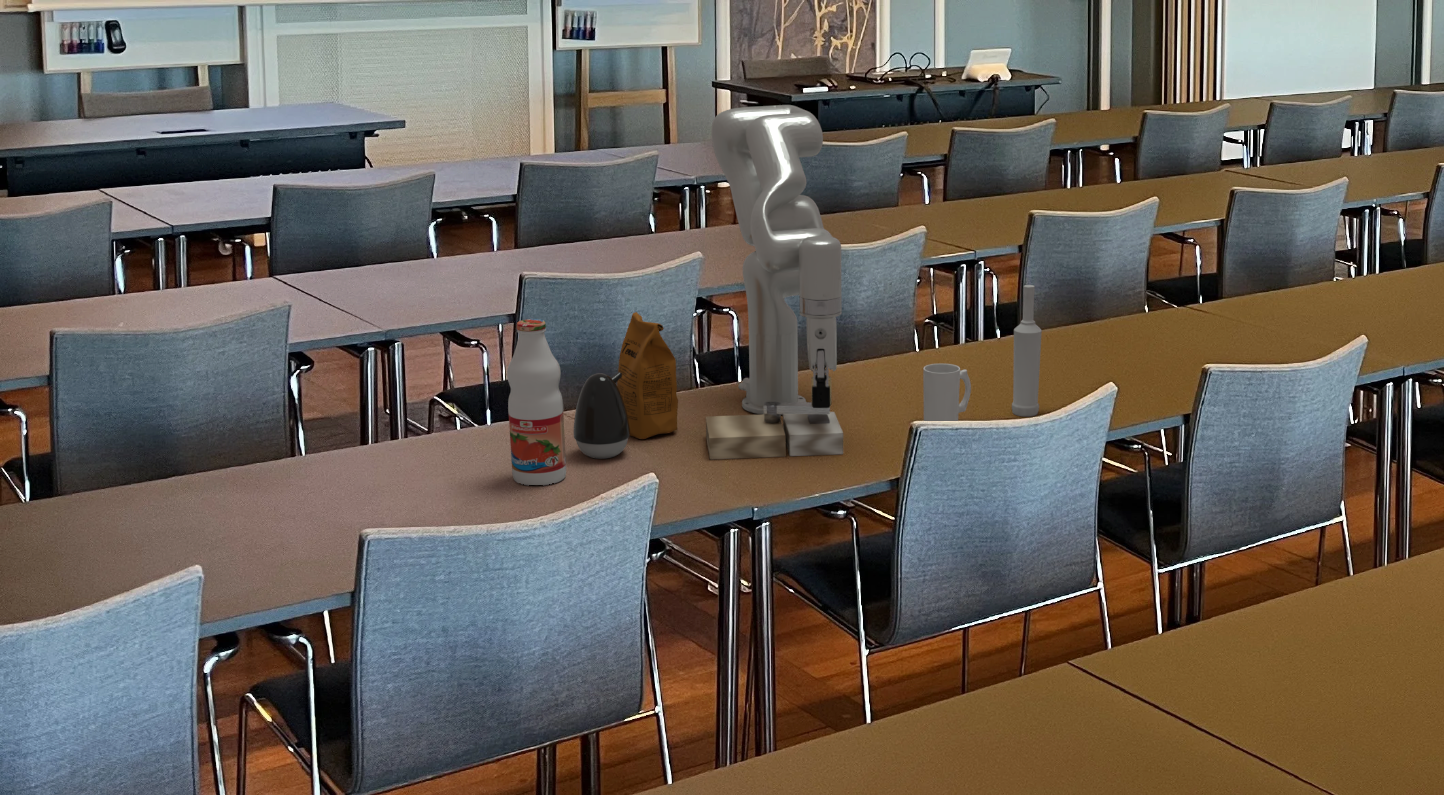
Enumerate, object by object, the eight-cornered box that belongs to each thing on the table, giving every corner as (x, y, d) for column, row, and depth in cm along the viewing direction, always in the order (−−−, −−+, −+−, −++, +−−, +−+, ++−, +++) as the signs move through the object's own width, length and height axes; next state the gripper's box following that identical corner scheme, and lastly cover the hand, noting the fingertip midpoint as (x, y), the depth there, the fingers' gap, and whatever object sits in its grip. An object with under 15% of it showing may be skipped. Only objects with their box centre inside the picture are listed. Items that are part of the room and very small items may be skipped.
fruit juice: (576, 472, 292) (568, 317, 284) (551, 489, 284) (542, 330, 276) (528, 466, 295) (519, 313, 287) (502, 483, 287) (492, 326, 279)
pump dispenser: (643, 452, 302) (640, 372, 297) (601, 467, 294) (597, 384, 290) (605, 441, 308) (601, 362, 304) (562, 455, 301) (558, 374, 297)
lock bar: (763, 423, 303) (762, 380, 300) (765, 417, 306) (764, 374, 304) (831, 424, 301) (830, 380, 299) (831, 418, 305) (831, 375, 302)
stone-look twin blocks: (709, 459, 297) (709, 434, 296) (706, 437, 310) (705, 413, 308) (843, 454, 298) (843, 429, 297) (834, 432, 311) (834, 408, 310)
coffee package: (659, 417, 322) (655, 307, 316) (684, 435, 311) (681, 321, 305) (611, 425, 318) (606, 313, 312) (634, 443, 307) (630, 327, 301)
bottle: (1042, 411, 321) (1047, 284, 314) (1032, 418, 317) (1036, 290, 309) (1017, 407, 323) (1021, 282, 316) (1007, 414, 319) (1010, 287, 312)
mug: (936, 437, 306) (937, 375, 303) (915, 428, 312) (916, 366, 309) (980, 428, 311) (981, 367, 308) (959, 419, 317) (960, 359, 313)
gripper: (842, 316, 289) (842, 417, 294) (841, 295, 305) (841, 391, 310) (798, 316, 289) (799, 417, 295) (800, 295, 305) (801, 391, 311)
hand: (821, 403), depth 302 cm, fingers closed on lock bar, 3 cm apart
